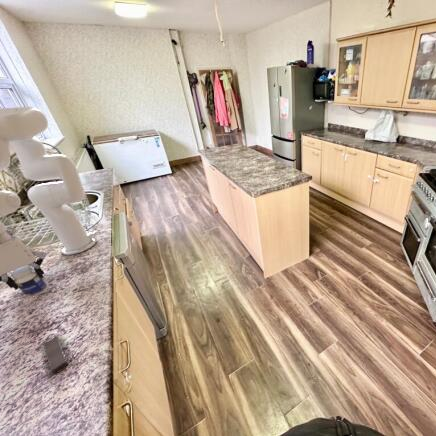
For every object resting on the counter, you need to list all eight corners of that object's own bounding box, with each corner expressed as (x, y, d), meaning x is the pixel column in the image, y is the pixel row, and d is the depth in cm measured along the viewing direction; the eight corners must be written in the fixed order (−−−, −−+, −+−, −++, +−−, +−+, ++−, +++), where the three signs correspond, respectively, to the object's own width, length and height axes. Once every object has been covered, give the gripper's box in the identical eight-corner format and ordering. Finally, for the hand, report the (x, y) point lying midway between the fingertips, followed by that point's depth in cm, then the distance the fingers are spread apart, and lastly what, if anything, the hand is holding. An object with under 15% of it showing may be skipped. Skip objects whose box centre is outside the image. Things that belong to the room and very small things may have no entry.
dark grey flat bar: (45, 346, 66) (43, 343, 66) (59, 338, 68) (57, 335, 68) (53, 373, 59) (51, 371, 59) (68, 364, 61) (66, 361, 61)
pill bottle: (23, 299, 80) (3, 278, 75) (31, 288, 85) (14, 267, 80) (43, 294, 82) (26, 273, 77) (51, 283, 87) (35, 263, 82)
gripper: (30, 223, 80) (59, 264, 89) (-50, 249, 68) (-8, 292, 77) (33, 230, 75) (63, 272, 85) (-52, 258, 64) (-6, 303, 73)
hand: (29, 281), depth 81 cm, fingers closed on pill bottle, 5 cm apart
